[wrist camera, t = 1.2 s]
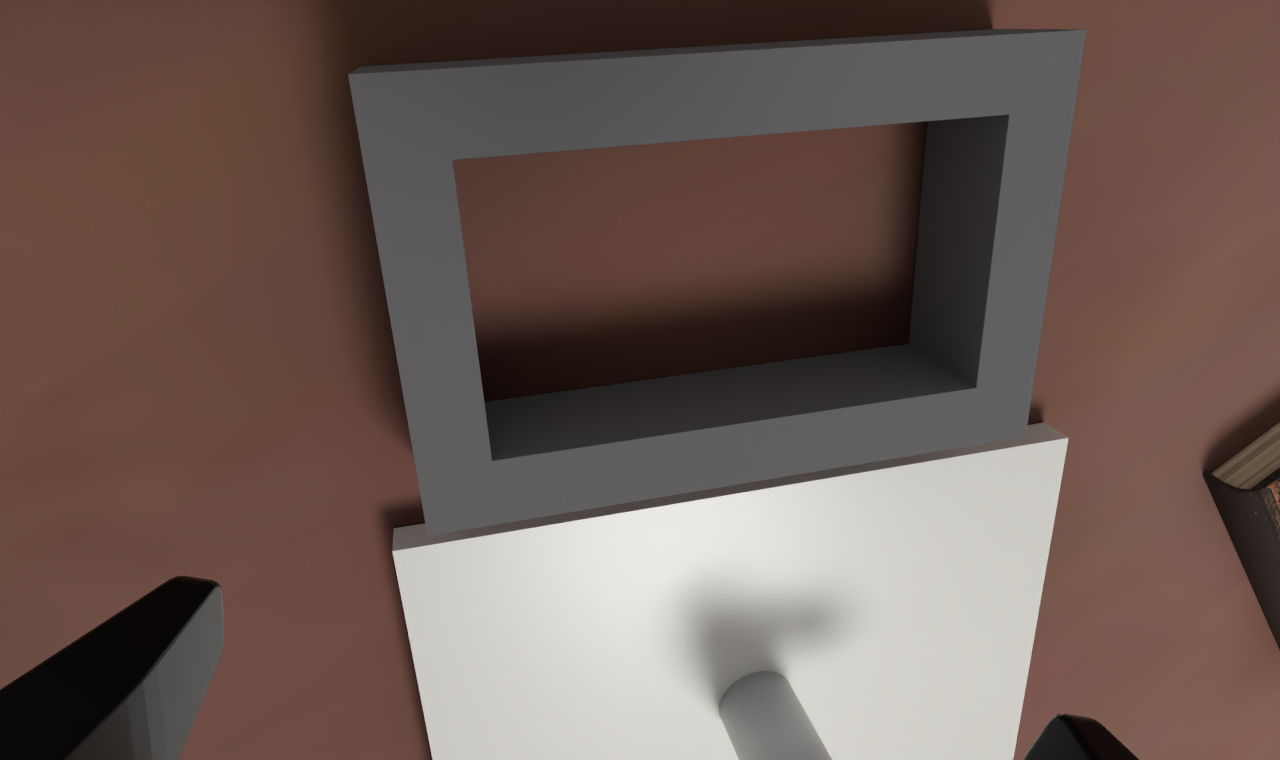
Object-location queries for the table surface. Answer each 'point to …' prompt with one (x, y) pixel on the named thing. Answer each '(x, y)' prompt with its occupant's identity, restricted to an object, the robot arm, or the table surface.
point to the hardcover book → (1254, 516)
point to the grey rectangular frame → (749, 395)
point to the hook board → (746, 617)
